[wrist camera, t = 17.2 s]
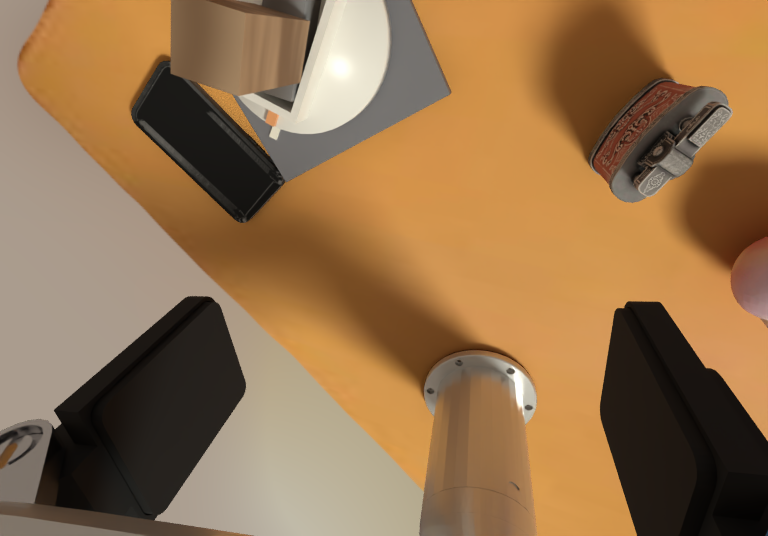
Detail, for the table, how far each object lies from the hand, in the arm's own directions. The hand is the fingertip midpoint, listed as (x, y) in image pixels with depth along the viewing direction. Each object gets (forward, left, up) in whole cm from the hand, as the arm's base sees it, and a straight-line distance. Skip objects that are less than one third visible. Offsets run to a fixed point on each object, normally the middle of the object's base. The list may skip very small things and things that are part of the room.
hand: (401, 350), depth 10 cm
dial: (+12, +8, -29) cm, 32 cm away
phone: (+9, +22, -31) cm, 39 cm away
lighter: (-6, -12, -31) cm, 33 cm away
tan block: (+12, +8, -27) cm, 30 cm away
